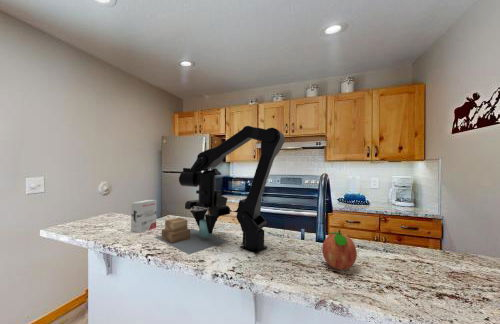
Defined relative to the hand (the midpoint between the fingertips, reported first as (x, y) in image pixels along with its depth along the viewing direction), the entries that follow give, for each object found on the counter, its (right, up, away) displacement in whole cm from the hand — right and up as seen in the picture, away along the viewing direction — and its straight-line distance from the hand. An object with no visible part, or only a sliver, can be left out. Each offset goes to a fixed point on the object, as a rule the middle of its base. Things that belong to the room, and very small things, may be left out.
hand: (205, 231), depth 77 cm
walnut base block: (-11, -2, 0) cm, 11 cm away
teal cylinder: (0, -1, 0) cm, 1 cm away
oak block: (-11, +1, 0) cm, 11 cm away
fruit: (+40, -4, -19) cm, 44 cm away
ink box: (-27, -3, +10) cm, 29 cm away
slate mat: (-5, -3, 0) cm, 6 cm away
